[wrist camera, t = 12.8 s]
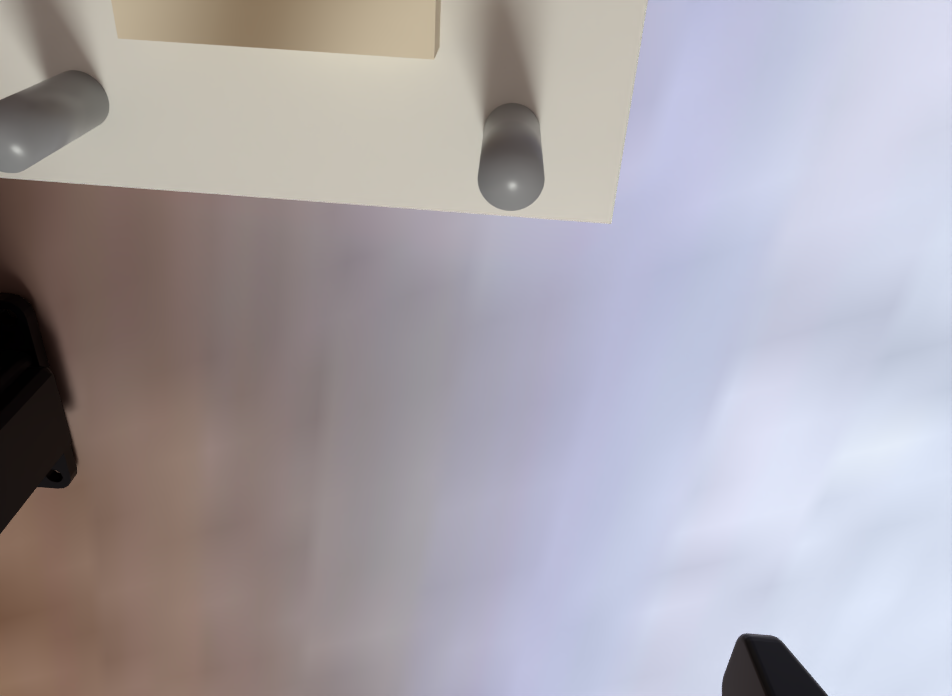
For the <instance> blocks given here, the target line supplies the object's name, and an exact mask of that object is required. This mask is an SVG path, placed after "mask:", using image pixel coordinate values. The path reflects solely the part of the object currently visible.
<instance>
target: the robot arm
mask: <svg viewBox="0 0 952 696" xmlns="http://www.w3.org/2000/svg"><path fill="white" fill-rule="evenodd" d="M7 309H8V310H11V311H12V312H13V313H15V315H16V316H17V318H15V317H13V316H11V315H10V314H9V313H8V311H7ZM70 444H71V437H70V433H69V429H68V425H67V422H66V418H65V414H64V411H63V407H62V403H61V399H60V396H59V392H58V388H57V384H56V381H55V377H54V375H53V373H52V372H51V370H50V367H49V363H48V360H47V356H46V352H45V348H44V345H43V341H42V337H41V334H40V330H39V326H38V323H37V319H36V315H35V312H34V309H33V307H32V305H31V304H30V303H29V302H28V301H27V300H26V299H24V298H23V297H21V296H19V295H15V294H11V293H0V534H1V532H2V531H3V530H4V529H5V527H6V526H7V525H8V523H9V522H10V521H11V520H12V518H13V517H14V516H15V514H16V513H17V512H18V511H19V509H20V508H21V507H22V506H23V504H24V503H25V502H26V500H27V499H28V498H29V497H30V495H31V494H32V493H33V491H34V490H35V489H36V488H37V487H45V488H65V487H67V486H68V485H69V484H70V483H71V481H72V480H73V479H74V477H75V476H76V474H77V467H76V463H75V459H74V456H73V452H72V448H71V445H70ZM55 470H56V471H55ZM57 471H58V472H59V473H58V472H57ZM722 696H828V695H827V694H826V692H825V691H824V690H823V689H822V688H821V687H820V685H819V684H818V683H817V682H816V681H815V680H814V678H813V677H812V676H811V675H810V674H809V672H808V671H807V670H806V669H805V668H804V667H803V665H802V664H801V663H800V662H799V661H798V660H797V658H796V657H795V656H794V655H793V654H792V653H791V651H790V650H789V649H788V648H787V647H786V645H785V644H784V643H783V642H782V641H781V640H779V639H778V638H777V637H775V636H771V635H760V634H748V633H746V634H742V635H741V636H739V637H738V639H737V641H736V644H735V646H734V649H733V652H732V654H731V657H730V660H729V663H728V665H727V668H726V671H725V674H724V677H723V682H722Z"/></svg>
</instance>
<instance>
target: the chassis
mask: <svg viewBox="0 0 952 696" xmlns="http://www.w3.org/2000/svg"><path fill="white" fill-rule="evenodd" d="M647 2H648V0H441V14H440V48H439V50H438V52H437V54H436V57H435V59H434V60H433V59H418V58H403V57H388V56H373V55H358V54H343V53H328V52H313V51H298V50H283V49H268V48H253V47H238V46H223V45H208V44H193V43H178V42H163V41H148V40H133V39H118V37H117V31H116V25H115V20H114V14H113V8H112V3H111V0H0V178H10V179H23V180H37V181H50V182H63V183H76V184H90V185H103V186H116V187H129V188H143V189H156V190H169V191H183V192H196V193H209V194H222V195H236V196H249V197H262V198H275V199H289V200H302V201H315V202H328V203H342V204H355V205H368V206H381V207H395V208H408V209H421V210H434V211H448V212H461V213H474V214H487V215H501V216H514V217H527V218H540V219H554V220H567V221H580V222H593V223H607V224H611V222H612V215H613V209H614V203H615V197H616V191H617V185H618V179H619V173H620V167H621V161H622V155H623V148H624V142H625V136H626V130H627V124H628V118H629V112H630V106H631V100H632V94H633V88H634V81H635V75H636V69H637V63H638V57H639V51H640V45H641V39H642V33H643V27H644V21H645V14H646V8H647Z"/></svg>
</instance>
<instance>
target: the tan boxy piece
mask: <svg viewBox="0 0 952 696" xmlns="http://www.w3.org/2000/svg"><path fill="white" fill-rule="evenodd" d="M111 3H112V8H113V14H114V20H115V25H116V31H117V37H118V39H133V40H148V41H163V42H178V43H193V44H208V45H223V46H238V47H253V48H268V49H283V50H298V51H313V52H328V53H343V54H358V55H373V56H388V57H403V58H418V59H433V60H434V59H435V57H436V54H437V52H438V50H439V48H440V14H441V0H111Z"/></svg>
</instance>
